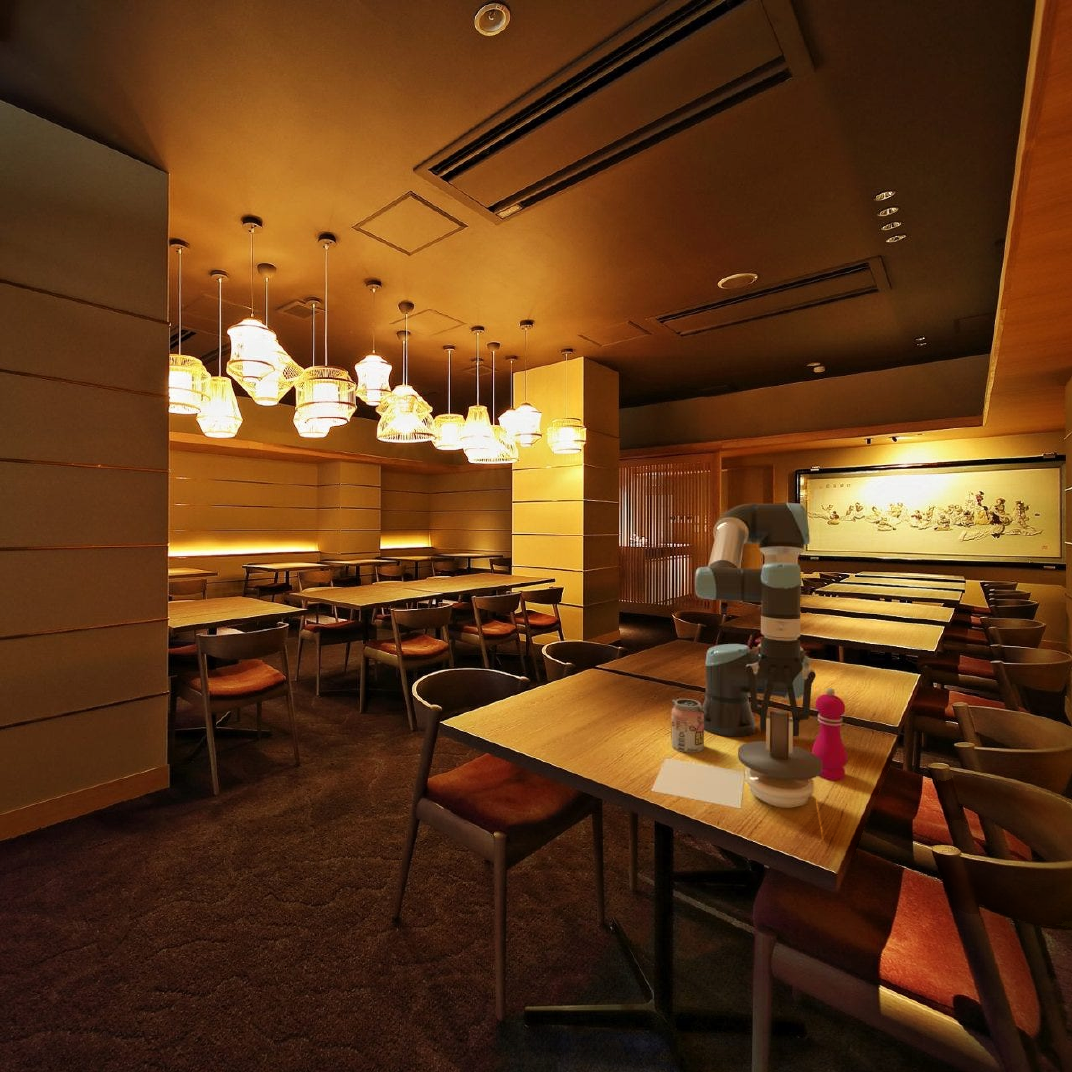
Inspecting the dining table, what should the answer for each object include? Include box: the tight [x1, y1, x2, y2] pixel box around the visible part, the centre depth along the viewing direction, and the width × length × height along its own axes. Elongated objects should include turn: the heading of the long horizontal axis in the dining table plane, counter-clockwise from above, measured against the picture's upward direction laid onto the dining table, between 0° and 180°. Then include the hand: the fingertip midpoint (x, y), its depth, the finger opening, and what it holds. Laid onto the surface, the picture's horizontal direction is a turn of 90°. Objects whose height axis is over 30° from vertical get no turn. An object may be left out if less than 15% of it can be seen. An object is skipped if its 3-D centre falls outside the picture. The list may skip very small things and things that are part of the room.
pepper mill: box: [811, 687, 849, 781], centre depth 125 cm, size 7×7×20 cm
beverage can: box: [670, 698, 707, 754], centre depth 139 cm, size 9×8×12 cm
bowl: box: [744, 767, 815, 809], centre depth 113 cm, size 13×13×5 cm
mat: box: [650, 758, 745, 810], centre depth 120 cm, size 18×18×1 cm
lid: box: [737, 709, 822, 780], centre depth 112 cm, size 16×16×10 cm
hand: (779, 748), depth 112 cm, fingers closed on lid, 3 cm apart
